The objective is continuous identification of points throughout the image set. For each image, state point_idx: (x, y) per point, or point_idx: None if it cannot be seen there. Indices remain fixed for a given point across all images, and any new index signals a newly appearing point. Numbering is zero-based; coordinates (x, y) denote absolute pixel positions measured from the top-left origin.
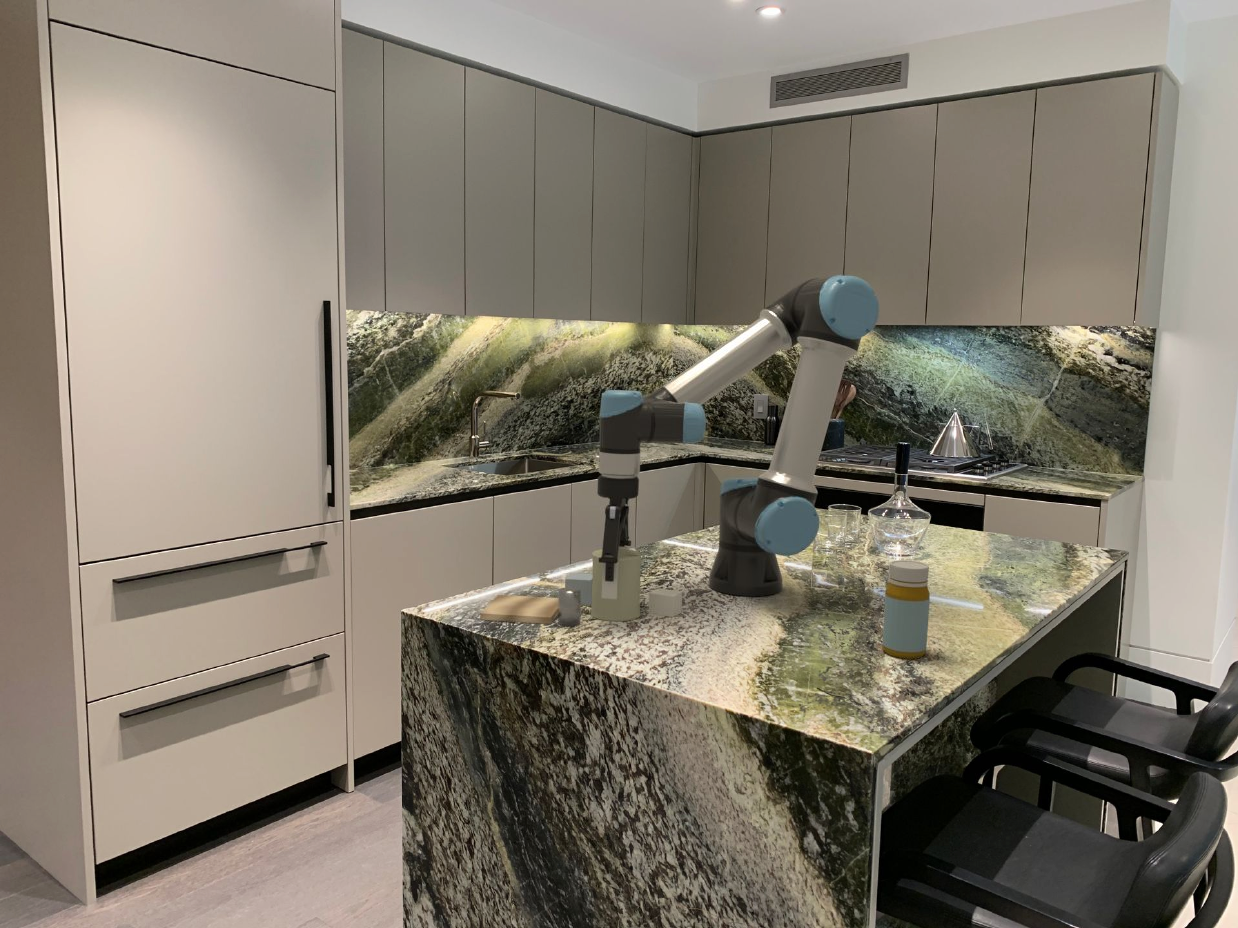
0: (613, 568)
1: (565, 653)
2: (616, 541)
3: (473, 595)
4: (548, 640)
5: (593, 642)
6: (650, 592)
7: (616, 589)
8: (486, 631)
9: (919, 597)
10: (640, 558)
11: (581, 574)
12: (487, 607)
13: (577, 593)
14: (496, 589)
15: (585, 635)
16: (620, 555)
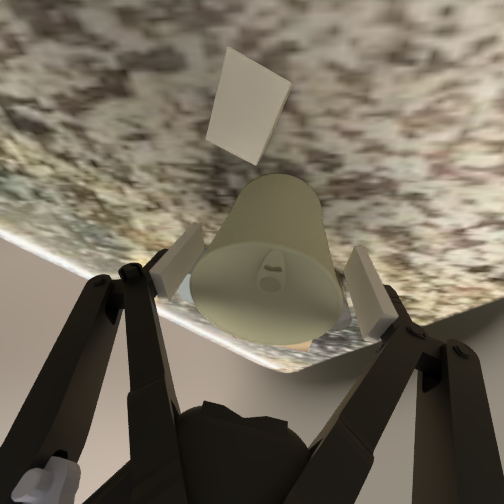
0: (404, 314)
1: (487, 289)
2: (492, 427)
3: (220, 342)
4: (407, 302)
5: (444, 254)
6: (251, 161)
7: (371, 261)
8: (350, 343)
9: None
10: (282, 241)
11: (184, 288)
12: (284, 346)
13: (346, 310)
14: (193, 328)
15: (397, 263)
16: (279, 298)
